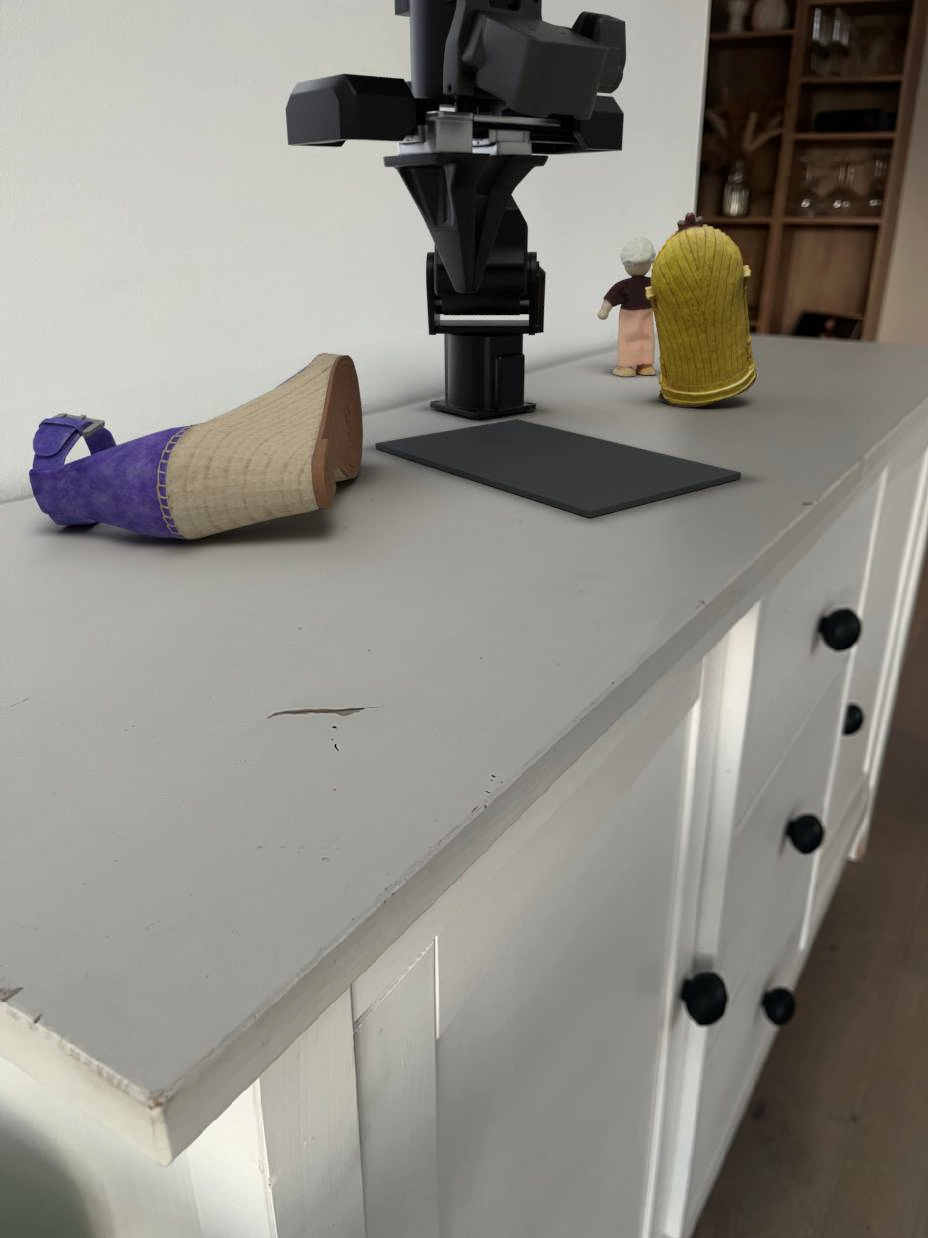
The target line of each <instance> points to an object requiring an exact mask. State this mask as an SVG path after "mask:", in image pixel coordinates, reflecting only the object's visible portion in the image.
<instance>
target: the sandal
mask: <svg viewBox="0 0 928 1238" xmlns="http://www.w3.org/2000/svg"><path fill="white" fill-rule="evenodd" d="M363 424H364V423H363V407H362V398H361V390H360V382H359V377H358V372H357V368H356V365H355V361H354V360H353V358H352V357H351V356H350V355H349V354H343V355H342V354H338V353H328V352H322V353H319V354H317V355H316V356H315V357H314V358H313V359H311V362H308V364H307V365H306V366H304V367H302V369H300V370H298V371H297V372H296V373H295V374H293V375H292V376H290V377H288V379H286V380H285V381H283V382H282V383H280V384H278V385H277V386H276V387H275V388H273V389H271V390H269V391H267V392H266V393H264V394H262V395H260V396H258V397H255V398H254V399H251V400H249V401H247V402H245V403H243V404H241V405H239V406H236V407H235V408H232V409H230V410H228V411H226V412H224V413H222V414H219V415H217V416H215V417H213V418H211V419H208V420H207V421H204V422H201V423H195V424H189V425H184V426H176V427H170V428H166V429H163V430H158V431H156V432H152V433H150V434H147V435H143V436H140V437H137V438H134V439H132V440H129V441H126V442H125V441H124V442H123V443H119V444H117V442H116V440H115V438H114V436H113V434H112V432H111V431H110V430H109V429H107V428H106V427H105V425H106V421H105V420H104V419H97V418H91V417H87V414H80V415H74V414H69V413H67V412H60V413H58V414H56V415H53V416H52V417H49V418H47V417H46V418H44V419H42V420H41V422H40V423H39V424H38V429H37V430H36V431H35V433H34V437H33V439H32V450H33V453H34V455H33V461H32V468H31V469H29V471H28V477H29V483H30V487H31V491H32V495H33V497H34V499H35V501H36V503H37V505H38V507H39V509H40V511H41V512H42V513H43V514H45V515H48V517H49V518H50V519H51V521H53V522H54V524H55V525H58V526H79V525H90V524H95V523H96V522H98V523H102V524H105V525H109V526H113V527H116V528H119V529H122V530H126V531H128V532H132V533H136V534H141V535H145V536H149V537H156V538H168V539H182V540H186V541H190V540H199V539H203V538H207V537H210V536H214V535H216V534H220V533H223V532H227V531H230V530H234V529H237V528H241V527H242V528H243V527H245V526H249V525H254V524H257V523H262V522H266V521H269V520H274V519H277V518H282V517H288V516H294V515H299V514H304V513H310V512H313V511H317V510H320V508H321V509H323V508H324V509H325V508H332V506H333V502H334V499H335V495H336V490H337V482H338V483H339V482H342V481H346V480H350V479H351V480H352V479H353V480H354V479H355V478H357V476H358V475H359V472H360V468H361V464H362V457H363V445H364V443H363V442H364V425H363ZM81 438H83V439H84V442H85V444H86V446H87V448H88V451H89V454H90V455H87V456H84V457H81V458H79V459H78V458H77V459H76V460H73V461H71V462H67V463H66V458H67V457H68V455H69V453H70V452H71V451H72V449H73V448H74V447H75V445H76V444H77V442H78V441H79V440H80V439H81Z"/></svg>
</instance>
